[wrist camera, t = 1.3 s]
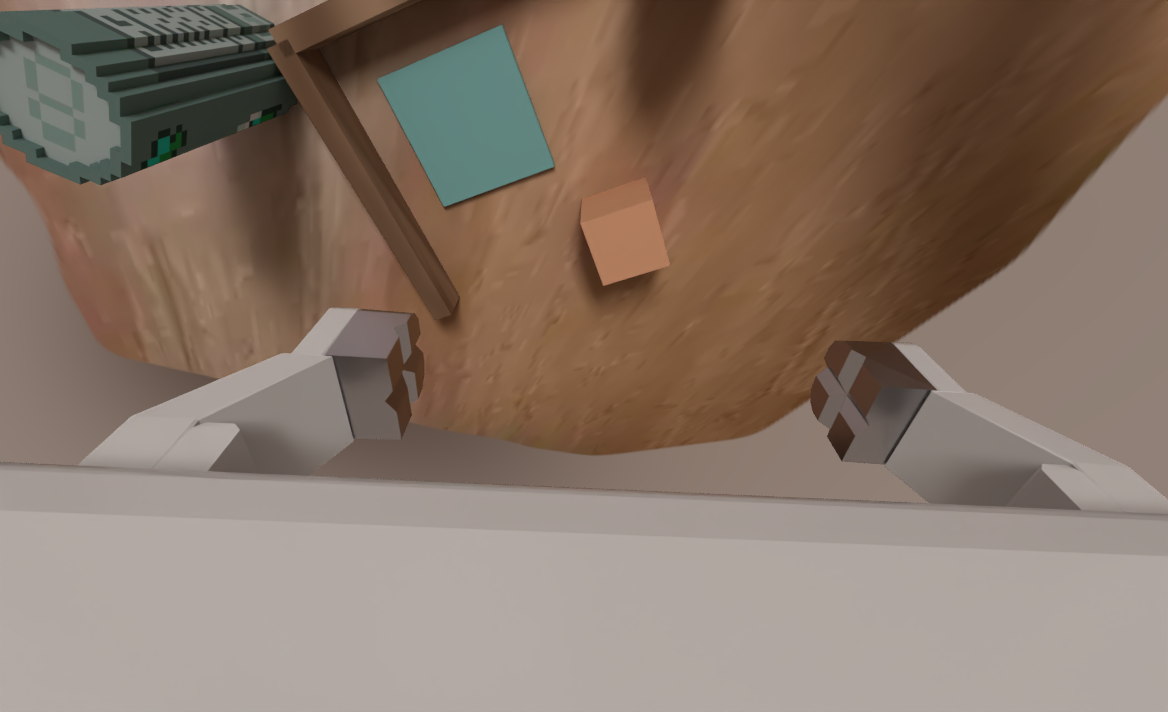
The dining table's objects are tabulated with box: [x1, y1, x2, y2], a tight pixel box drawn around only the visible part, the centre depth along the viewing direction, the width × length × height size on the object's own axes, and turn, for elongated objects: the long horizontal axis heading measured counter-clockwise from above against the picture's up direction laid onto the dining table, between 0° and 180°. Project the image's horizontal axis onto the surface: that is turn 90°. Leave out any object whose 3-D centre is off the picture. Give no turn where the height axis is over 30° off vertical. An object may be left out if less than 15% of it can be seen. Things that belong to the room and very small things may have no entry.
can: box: [0, 4, 297, 185], centre depth 26 cm, size 6×6×15 cm
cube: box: [580, 177, 670, 286], centre depth 36 cm, size 5×5×5 cm
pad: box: [377, 24, 555, 207], centre depth 34 cm, size 9×9×1 cm
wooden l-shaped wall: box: [267, 0, 459, 320], centre depth 34 cm, size 21×21×3 cm
